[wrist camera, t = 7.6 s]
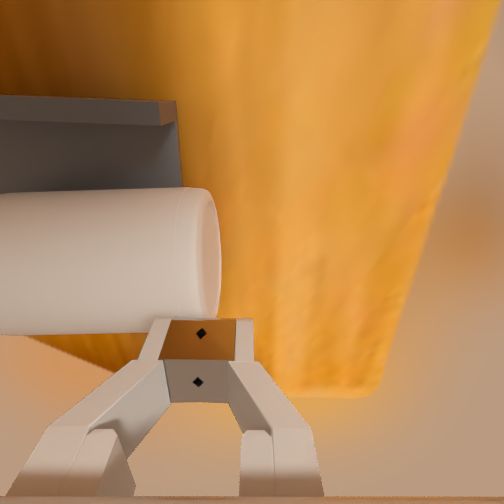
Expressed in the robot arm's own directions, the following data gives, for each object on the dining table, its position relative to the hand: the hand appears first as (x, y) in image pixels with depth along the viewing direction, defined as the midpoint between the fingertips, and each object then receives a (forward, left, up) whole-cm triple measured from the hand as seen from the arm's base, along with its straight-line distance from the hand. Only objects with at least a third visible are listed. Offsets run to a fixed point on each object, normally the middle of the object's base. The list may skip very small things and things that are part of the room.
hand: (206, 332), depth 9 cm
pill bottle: (+1, 0, -7) cm, 7 cm away
